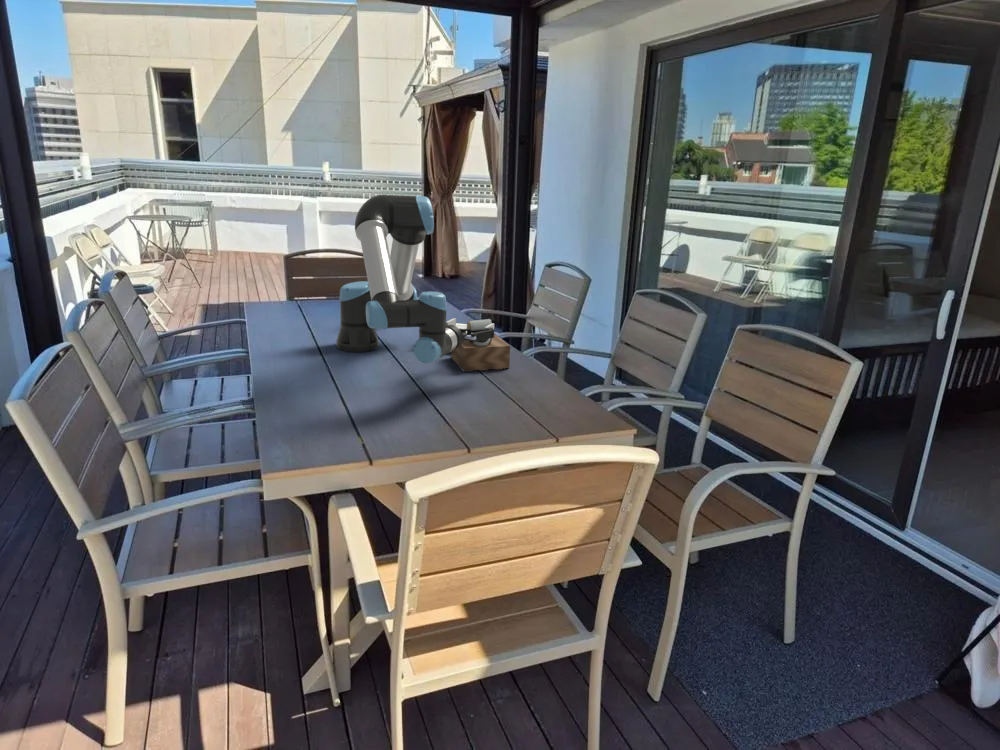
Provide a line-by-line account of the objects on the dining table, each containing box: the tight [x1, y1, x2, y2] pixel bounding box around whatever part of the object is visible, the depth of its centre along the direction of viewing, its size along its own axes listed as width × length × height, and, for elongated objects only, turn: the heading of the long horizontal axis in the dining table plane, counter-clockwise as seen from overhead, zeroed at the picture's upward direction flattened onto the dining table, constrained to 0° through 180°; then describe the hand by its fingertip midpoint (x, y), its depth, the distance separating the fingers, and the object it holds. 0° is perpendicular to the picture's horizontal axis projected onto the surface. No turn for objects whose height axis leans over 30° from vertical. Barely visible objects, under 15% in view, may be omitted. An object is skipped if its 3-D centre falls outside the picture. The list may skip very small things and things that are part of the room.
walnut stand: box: [450, 333, 511, 372], centre depth 220 cm, size 16×16×8 cm
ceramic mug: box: [466, 318, 492, 347], centre depth 215 cm, size 11×8×8 cm
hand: (473, 324), depth 210 cm, fingers open, 13 cm apart
